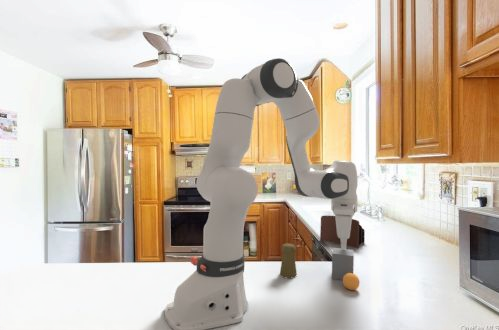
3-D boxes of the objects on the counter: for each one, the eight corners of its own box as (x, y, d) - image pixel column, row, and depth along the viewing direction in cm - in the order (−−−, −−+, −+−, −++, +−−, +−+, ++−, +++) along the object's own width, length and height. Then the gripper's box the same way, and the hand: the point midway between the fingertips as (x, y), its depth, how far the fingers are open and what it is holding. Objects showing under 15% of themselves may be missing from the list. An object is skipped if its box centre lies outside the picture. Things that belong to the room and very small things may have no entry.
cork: (296, 279, 94) (297, 247, 94) (279, 277, 95) (279, 246, 95) (297, 272, 100) (297, 242, 100) (280, 270, 101) (281, 241, 101)
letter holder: (358, 248, 130) (359, 219, 130) (319, 240, 142) (320, 214, 142) (364, 244, 138) (365, 216, 138) (327, 236, 150) (327, 211, 150)
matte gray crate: (331, 278, 95) (332, 253, 95) (333, 271, 101) (333, 247, 101) (353, 281, 92) (353, 256, 92) (353, 274, 99) (353, 250, 99)
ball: (352, 294, 83) (352, 278, 83) (339, 287, 88) (339, 272, 88) (362, 290, 86) (362, 274, 86) (349, 284, 90) (349, 269, 90)
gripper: (336, 201, 108) (336, 236, 108) (333, 210, 89) (333, 252, 89) (353, 202, 106) (353, 237, 106) (353, 211, 86) (353, 254, 87)
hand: (344, 244), depth 97 cm, fingers open, 8 cm apart
